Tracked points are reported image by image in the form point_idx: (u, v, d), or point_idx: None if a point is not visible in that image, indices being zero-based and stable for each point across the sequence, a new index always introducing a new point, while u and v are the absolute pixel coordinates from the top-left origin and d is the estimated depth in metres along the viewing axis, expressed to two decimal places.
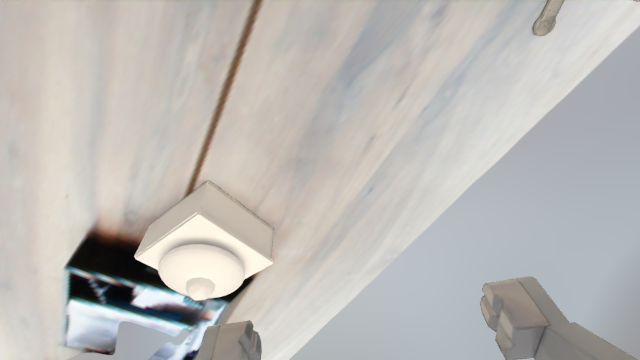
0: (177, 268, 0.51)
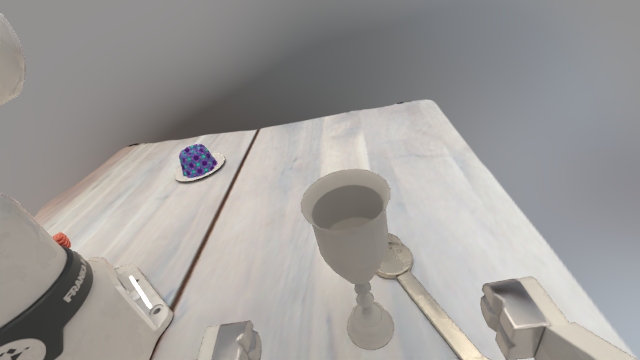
0: None
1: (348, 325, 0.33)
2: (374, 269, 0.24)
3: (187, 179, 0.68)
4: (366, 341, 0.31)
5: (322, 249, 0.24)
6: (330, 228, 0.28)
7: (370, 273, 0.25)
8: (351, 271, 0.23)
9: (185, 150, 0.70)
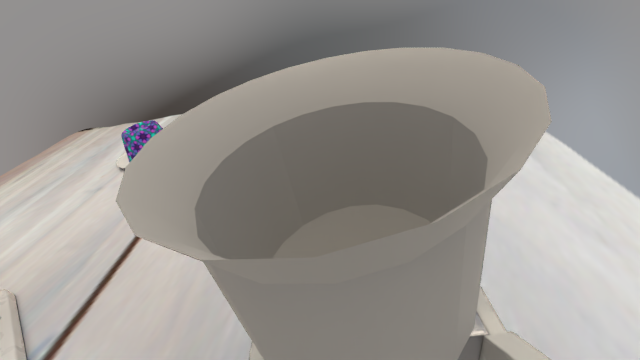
0: None
1: None
2: None
3: None
4: None
5: (239, 318, 0.06)
6: (294, 235, 0.10)
7: None
8: None
9: (131, 128, 0.53)
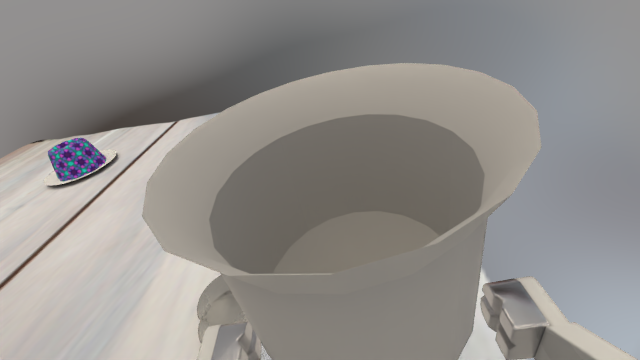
0: None
1: None
2: None
3: (57, 183, 0.52)
4: None
5: (250, 322, 0.07)
6: (299, 240, 0.11)
7: None
8: None
9: (59, 145, 0.54)
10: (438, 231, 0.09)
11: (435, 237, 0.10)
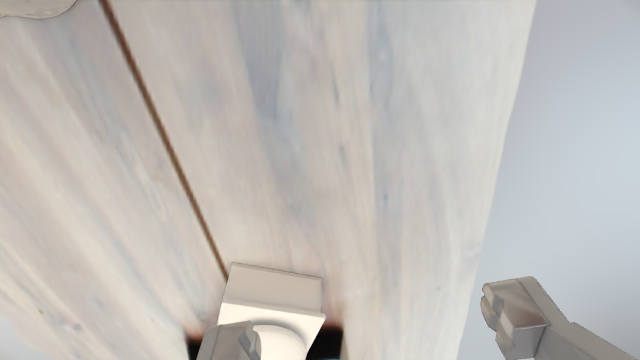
0: None
1: None
2: None
3: None
4: None
5: None
6: None
7: None
8: None
9: None
10: None
11: None
